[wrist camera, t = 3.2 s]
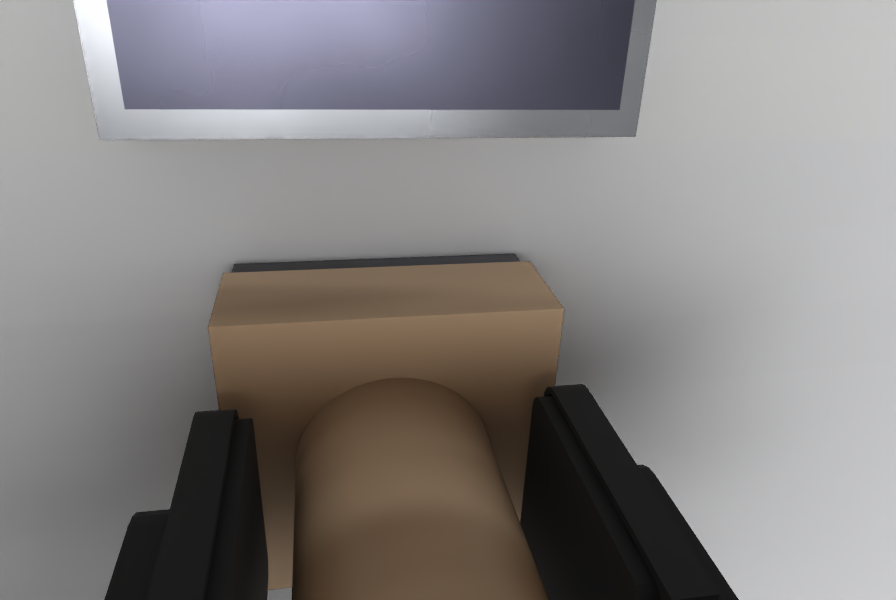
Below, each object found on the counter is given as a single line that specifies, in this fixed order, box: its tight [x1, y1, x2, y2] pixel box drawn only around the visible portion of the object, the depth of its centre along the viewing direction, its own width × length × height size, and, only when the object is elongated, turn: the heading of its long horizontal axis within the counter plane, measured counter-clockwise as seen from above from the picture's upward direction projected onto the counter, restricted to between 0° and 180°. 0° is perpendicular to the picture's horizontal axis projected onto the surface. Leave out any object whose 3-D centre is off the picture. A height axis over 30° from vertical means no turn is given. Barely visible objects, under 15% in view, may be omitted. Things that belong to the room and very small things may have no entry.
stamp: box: [208, 254, 564, 600], centre depth 9 cm, size 5×5×9 cm
